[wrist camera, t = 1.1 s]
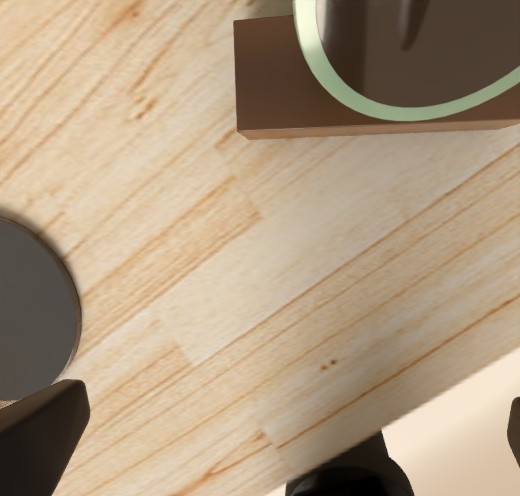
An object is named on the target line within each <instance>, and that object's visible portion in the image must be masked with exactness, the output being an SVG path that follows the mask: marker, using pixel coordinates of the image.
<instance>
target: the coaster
mask: <svg viewBox="0 0 520 496" xmlns="http://www.w3.org/2000/svg"><path fill="white" fill-rule="evenodd" d="M80 334H81V313H80V306H79V301H78V296H77V293H76V290H75V287H74V284H73V282H72V280H71V278H70V276H69V274H68V272H67V270H66V268H65V267H64V265H63V264H62V262H61V260H60V259H59V258H58V257H57V255H56V254H55V253H54V251H53V250H52V249H51V248H50V247H49V246H48V245H47V244H46V243H45V242H44V241H43V240H42V239H40V238H39V237H38V236H37V235H35V234H34V233H33V232H31V231H30V230H28V229H27V228H25V227H23V226H22V225H20V224H18V223H15V222H13V221H11V220H9V219H5V218H2V217H0V401H13V400H19V399H24V398H26V397H28V396H30V395H32V394H34V393H36V392H38V391H41V390H43V389H45V388H47V387H49V386H51V385H52V384H53V383H55V382H56V381H57V380H58V379H59V378H60V377H61V376H62V375H63V374H64V373H65V371H66V370H67V369H68V367H69V366H70V364H71V362H72V360H73V358H74V356H75V354H76V351H77V348H78V345H79V339H80Z"/></svg>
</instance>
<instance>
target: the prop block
mask: <svg viewBox="0 0 520 496" xmlns="http://www.w3.org/2000/svg"><path fill="white" fill-rule="evenodd" d="M233 26H234V56H235V85H236V115H237V132H239V133H240V134H242V135H243V136H245V137H246V138H247V139H249V140H252V139H276V138H300V137H324V136H348V135H372V134H396V133H420V132H444V131H468V130H492V129H501V128H505V127H508V126H512V125H515V124H519V123H520V82H519V83H517V84H516V85H514V86H513V87H511V88H509V89H508V90H506V91H504V92H503V93H501V94H499V95H498V96H495V97H493V98H491V99H489V100H487V101H485V102H483V103H481V104H479V105H477V106H474V107H471V108H469V109H466V110H464V111H461V112H458V113H454V114H451V115H448V116H444V117H439V118H434V119H429V120H419V121H393V120H385V119H379V118H375V117H371V116H368V115H365V114H363V113H360V112H357V111H355V110H353V109H351V108H350V107H348V106H346V105H344V104H343V103H341V102H340V101H339V100H337V99H336V98H335V97H333V96H332V95H331V94H330V93H329V92H328V91H327V90H326V89H325V88H324V87H323V86H322V85H321V84H320V82H319V81H318V80H317V78H316V77H315V76H314V74H313V73H312V71H311V69H310V67H309V66H308V64H307V62H306V60H305V58H304V55H303V53H302V50H301V47H300V45H299V42H298V37H297V33H296V28H295V24H294V15H290V16H279V17H268V18H257V19H245V20H235V21H234V22H233Z"/></svg>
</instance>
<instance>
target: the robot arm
mask: <svg viewBox="0 0 520 496" xmlns="http://www.w3.org/2000/svg"><path fill="white" fill-rule="evenodd" d="M89 418H90V406H89V401H88V396H87V391H86V386H85V384H84V382H83V381H81V380H72V379H65V380H62V381H60V382H57V383H55V384H53V385H51V386H49V387H47V388H45V389H43V390H41V391H38V392H36V393H34V394H32V395H30V396H28V397H26V398H24V399H22V400H19V401H17V402H15V403H13V404H11V405H9V406H7V407H5V408H3V409H0V496H52V494H53V492H54V490H55V488H56V487H57V485H58V483H59V481H60V479H61V477H62V475H63V473H64V471H65V469H66V467H67V465H68V463H69V461H70V459H71V457H72V454H73V452H74V450H75V448H76V446H77V444H78V442H79V440H80V438H81V436H82V434H83V432H84V430H85V428H86V426H87V424H88V422H89ZM507 437H508V442H509V445H510V447H511V449H512V452H513V454H514V456H515V458H516V460H517V463H518V465H519V467H520V397H516V398H515V399H514V400H513V402H512V405H511V411H510V417H509V423H508V429H507ZM373 484H376V486H372V485H373ZM305 496H388V494H387V492H386V490H385V488H384V486H383V484H382V482H381V480H380V479H379V478H378V477H375V476H371V477H368V478H364V479H361V480H357V481H354V482H350V483H347V484H343V485H340V486H336V487H333V488H329V489H326V490H322V491H319V492H316V493H312V494H309V495H305Z"/></svg>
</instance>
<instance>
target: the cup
mask: <svg viewBox="0 0 520 496" xmlns="http://www.w3.org/2000/svg"><path fill="white" fill-rule="evenodd" d="M292 4H293V14H294V24H295V28H296V33H297V37H298V42H299V45H300V47H301V50H302V53H303V55H304V58H305V60H306V62H307V64H308V66H309V67H310V69H311V71H312V73H313V74H314V76H315V77H316V78H317V80H318V81H319V82H320V84H321V85H322V86H323V87H324V88H325V89H326V90H327V91H328V92H329V93H330V94H331V95H332V96H333V97H335V98H336V99H337V100H339V101H340V102H341V103H343V104H344V105H346V106H348V107H350V108H351V109H353V110H355V111H357V112H360V113H363V114H365V115H368V116H371V117H375V118H379V119H385V120H393V121H419V120H429V119H434V118H439V117H444V116H448V115H451V114H454V113H458V112H461V111H464V110H466V109H469V108H471V107H474V106H477V105H479V104H481V103H483V102H485V101H487V100H489V99H491V98H493V97H495V96H498V95H499V94H501V93H503V92H504V91H506V90H508V89H509V88H511V87H513V86H514V85H516V84H517V83H519V82H520V0H292Z"/></svg>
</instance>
